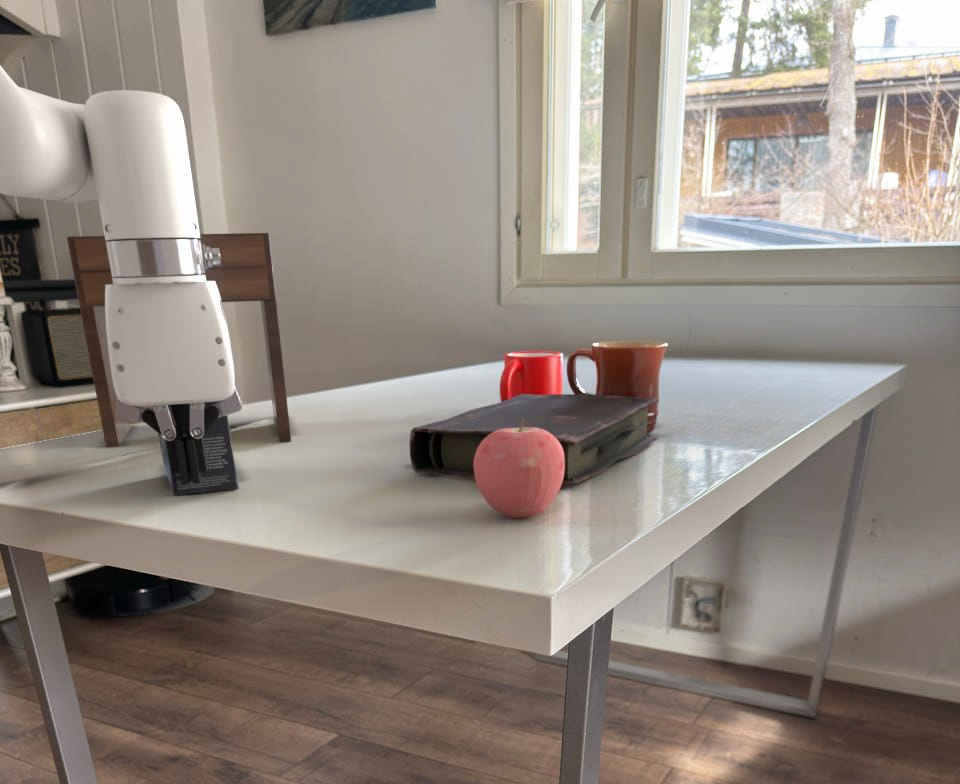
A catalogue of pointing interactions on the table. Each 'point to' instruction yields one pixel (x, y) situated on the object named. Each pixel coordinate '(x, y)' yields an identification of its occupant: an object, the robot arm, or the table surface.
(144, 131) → the robot arm
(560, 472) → the apple
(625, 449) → the diary
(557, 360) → the mug
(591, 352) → the mug
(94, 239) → the brown wooden stand
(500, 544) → the table surface
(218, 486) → the small box
